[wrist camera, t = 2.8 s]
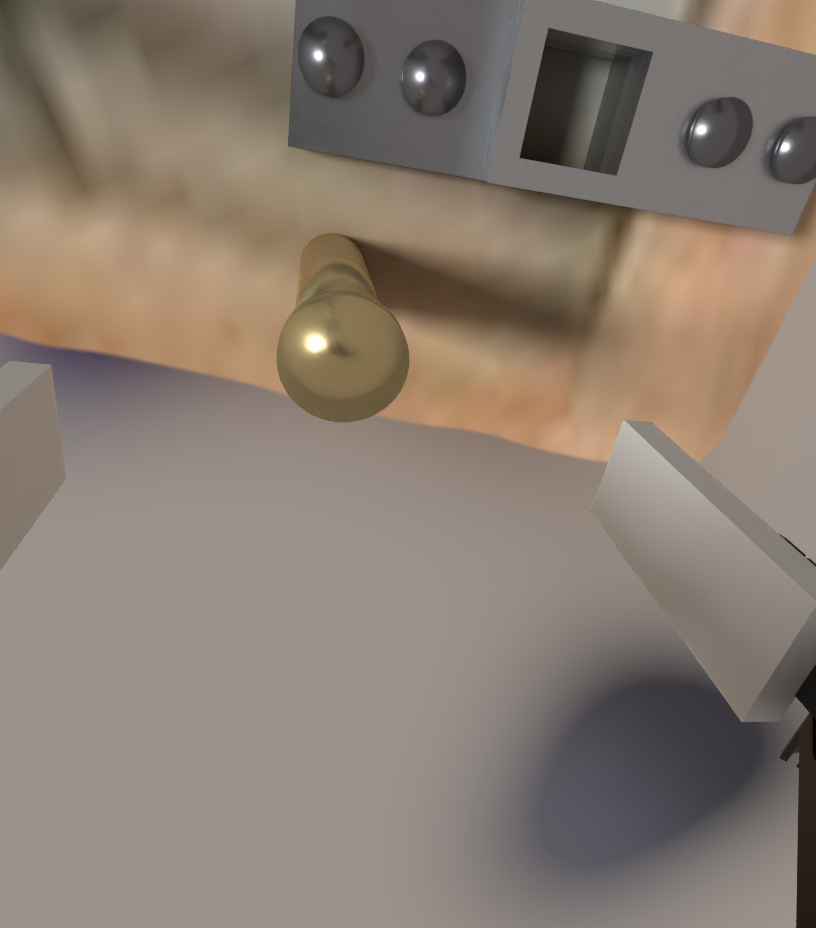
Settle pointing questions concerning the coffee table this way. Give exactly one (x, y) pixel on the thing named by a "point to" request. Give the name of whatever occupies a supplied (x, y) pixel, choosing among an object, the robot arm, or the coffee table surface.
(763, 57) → the riveted socket bracket
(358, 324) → the brass pin
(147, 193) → the coffee table surface
